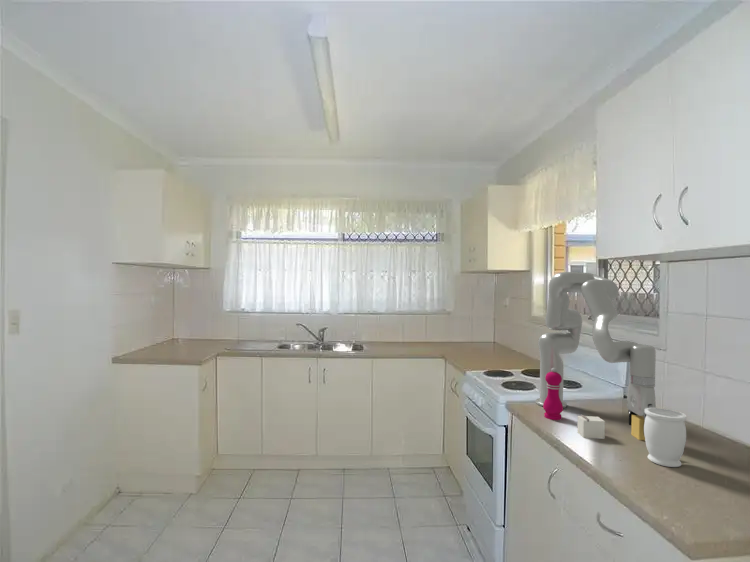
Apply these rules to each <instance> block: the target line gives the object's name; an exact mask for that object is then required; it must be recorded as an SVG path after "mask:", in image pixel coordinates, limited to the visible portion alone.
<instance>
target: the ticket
mask: <svg viewBox="0 0 750 562" xmlns="http://www.w3.org/2000/svg"><path fill="white" fill-rule="evenodd" d="M605 427H606V421H605V420H604V419H602V418H600V416H591V415H589V416H588V415H584V414H580V415H577V434H579V435H580V437H582V438H583V439H602V440H603V439H604V440H605V433H606V431H605V430H606V428H605Z"/></svg>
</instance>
